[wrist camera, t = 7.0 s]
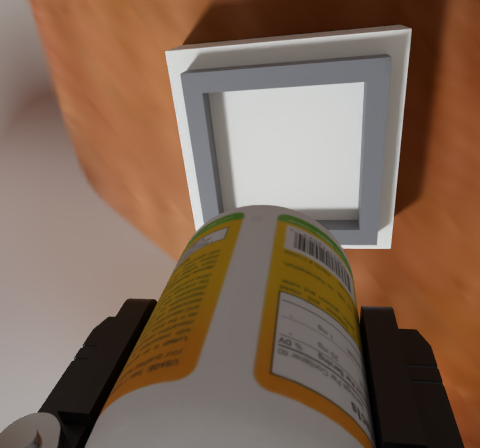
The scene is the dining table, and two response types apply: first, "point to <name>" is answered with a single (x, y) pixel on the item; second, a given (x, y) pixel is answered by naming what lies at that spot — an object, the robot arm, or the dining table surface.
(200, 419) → the supplement bottle
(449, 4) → the dining table surface
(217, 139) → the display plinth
